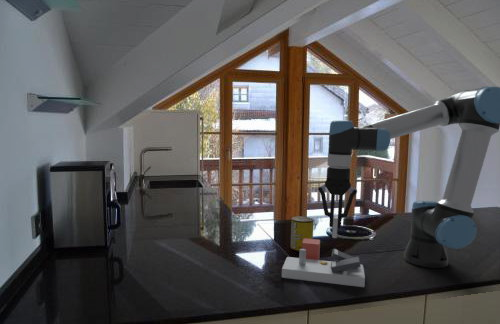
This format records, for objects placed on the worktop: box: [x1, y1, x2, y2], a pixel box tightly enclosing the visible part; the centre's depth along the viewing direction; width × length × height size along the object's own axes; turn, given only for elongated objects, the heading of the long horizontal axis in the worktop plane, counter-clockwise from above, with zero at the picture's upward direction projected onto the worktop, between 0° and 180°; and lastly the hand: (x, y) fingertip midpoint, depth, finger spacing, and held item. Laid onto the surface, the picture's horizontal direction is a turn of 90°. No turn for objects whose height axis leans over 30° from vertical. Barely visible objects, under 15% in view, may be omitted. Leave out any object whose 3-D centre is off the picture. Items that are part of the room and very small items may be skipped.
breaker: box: [331, 256, 361, 272], centre depth 122 cm, size 9×5×2 cm, turn 76°
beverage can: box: [290, 216, 315, 252], centre depth 156 cm, size 9×9×12 cm
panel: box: [281, 249, 366, 288], centre depth 127 cm, size 26×12×8 cm, turn 77°
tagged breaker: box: [331, 248, 358, 268], centre depth 128 cm, size 9×5×2 cm, turn 77°
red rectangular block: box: [302, 238, 321, 260], centre depth 139 cm, size 6×6×8 cm
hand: (334, 236), depth 128 cm, fingers closed
